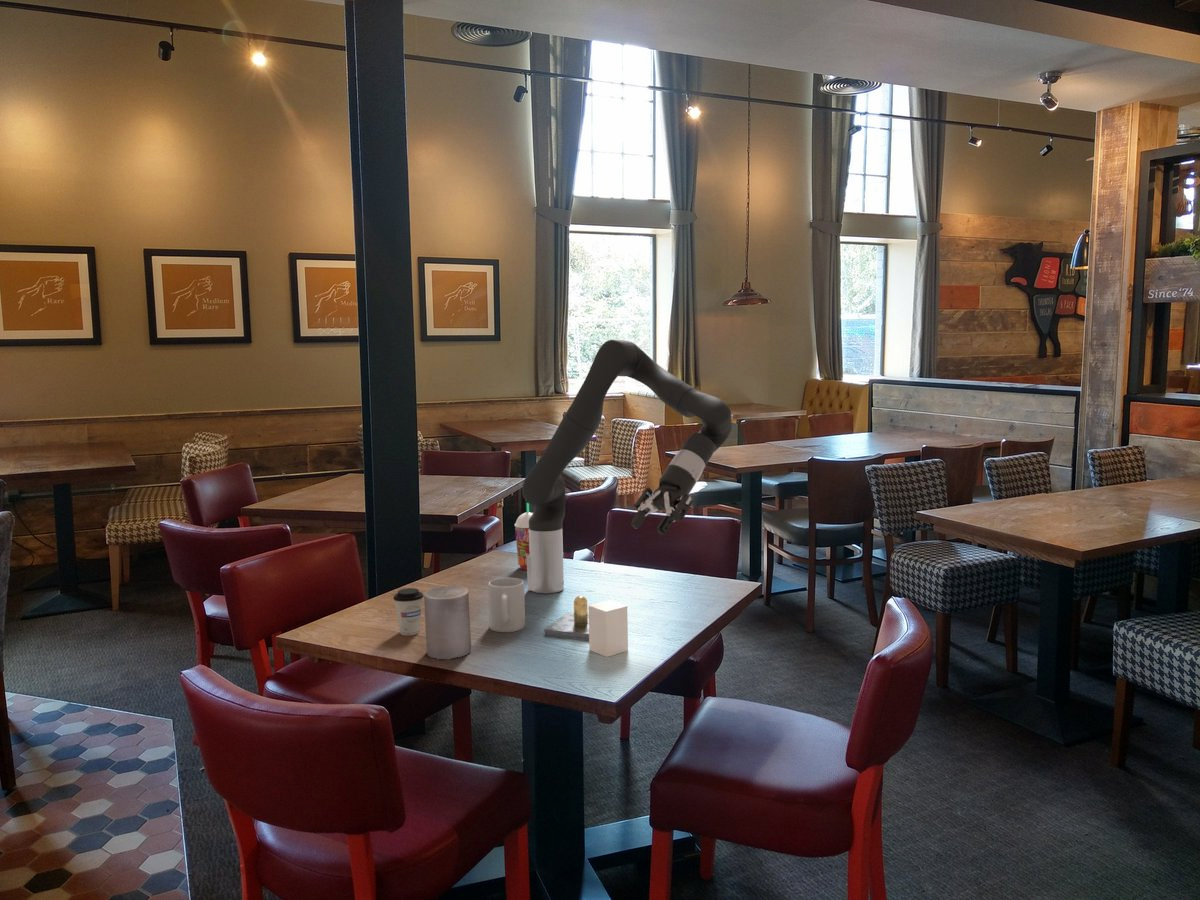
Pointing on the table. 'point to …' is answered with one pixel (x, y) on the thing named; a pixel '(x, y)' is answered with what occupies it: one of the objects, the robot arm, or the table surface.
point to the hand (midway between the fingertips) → (646, 529)
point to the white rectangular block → (608, 628)
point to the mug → (506, 605)
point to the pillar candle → (447, 622)
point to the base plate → (572, 622)
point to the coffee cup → (408, 610)
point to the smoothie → (523, 538)
